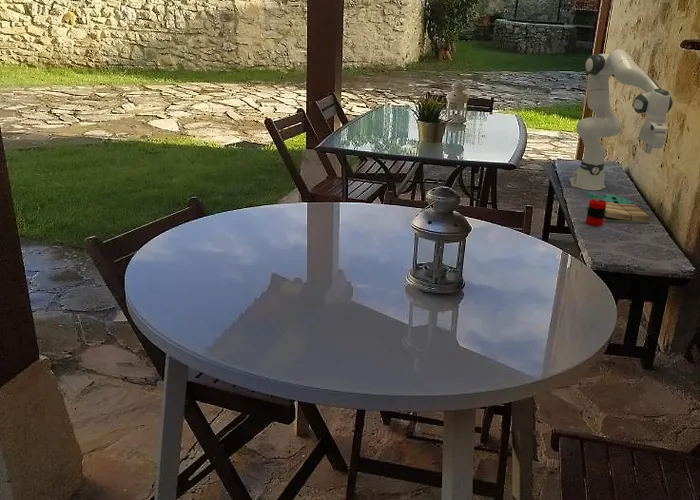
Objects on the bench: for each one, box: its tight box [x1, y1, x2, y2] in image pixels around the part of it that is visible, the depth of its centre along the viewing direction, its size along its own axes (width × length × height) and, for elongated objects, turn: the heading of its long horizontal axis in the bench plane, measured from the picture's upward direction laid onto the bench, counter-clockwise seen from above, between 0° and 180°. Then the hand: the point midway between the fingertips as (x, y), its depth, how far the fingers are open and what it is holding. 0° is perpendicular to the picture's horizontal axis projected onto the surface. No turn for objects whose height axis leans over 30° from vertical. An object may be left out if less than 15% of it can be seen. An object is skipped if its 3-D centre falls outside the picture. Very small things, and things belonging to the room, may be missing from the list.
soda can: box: [585, 197, 607, 227], centre depth 318 cm, size 8×8×12 cm
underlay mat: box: [585, 206, 651, 225], centre depth 331 cm, size 20×24×1 cm
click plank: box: [604, 202, 632, 221], centre depth 330 cm, size 18×12×2 cm
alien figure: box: [587, 192, 633, 204], centre depth 351 cm, size 20×2×20 cm
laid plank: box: [619, 203, 650, 221], centre depth 331 cm, size 18×8×2 cm, turn 0°
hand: (647, 153), depth 327 cm, fingers closed
